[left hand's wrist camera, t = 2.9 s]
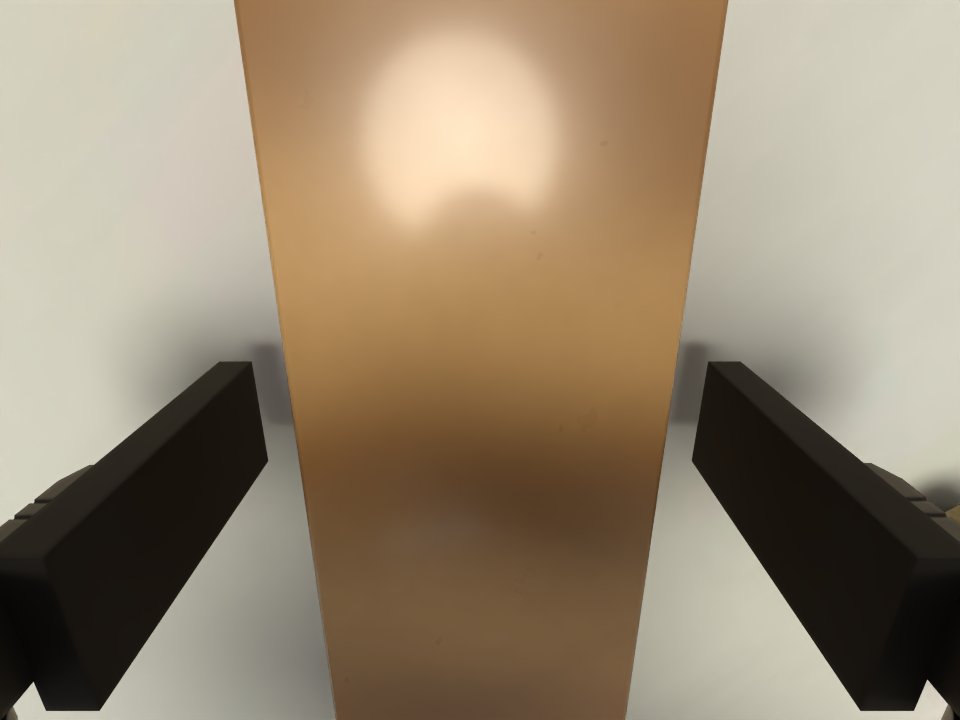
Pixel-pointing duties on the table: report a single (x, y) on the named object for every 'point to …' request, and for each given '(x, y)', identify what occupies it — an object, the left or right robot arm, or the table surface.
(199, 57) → the table surface
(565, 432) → the bar
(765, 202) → the table surface
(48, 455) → the table surface
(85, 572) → the left robot arm
